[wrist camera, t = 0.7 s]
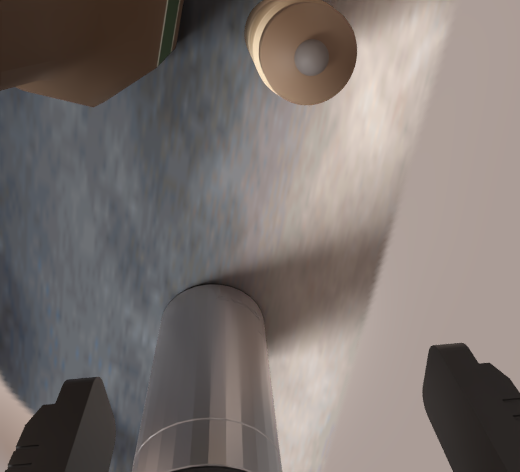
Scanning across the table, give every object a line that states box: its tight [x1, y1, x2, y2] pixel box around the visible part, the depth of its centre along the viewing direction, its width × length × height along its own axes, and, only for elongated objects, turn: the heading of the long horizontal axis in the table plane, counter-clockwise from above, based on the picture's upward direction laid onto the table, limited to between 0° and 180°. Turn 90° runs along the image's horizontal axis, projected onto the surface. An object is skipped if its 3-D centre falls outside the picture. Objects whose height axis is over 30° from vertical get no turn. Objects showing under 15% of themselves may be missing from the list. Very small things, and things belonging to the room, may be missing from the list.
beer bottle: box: [0, 0, 184, 107], centre depth 19 cm, size 8×8×24 cm
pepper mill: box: [245, 0, 357, 105], centre depth 24 cm, size 4×4×14 cm
